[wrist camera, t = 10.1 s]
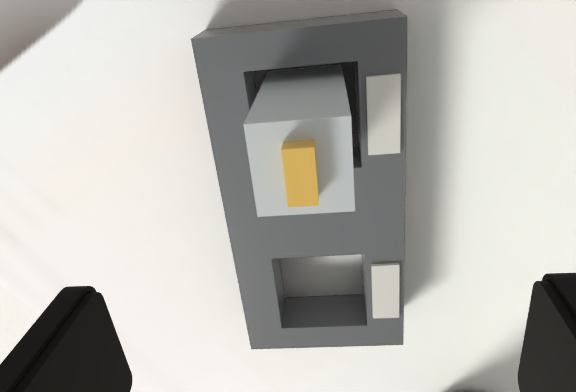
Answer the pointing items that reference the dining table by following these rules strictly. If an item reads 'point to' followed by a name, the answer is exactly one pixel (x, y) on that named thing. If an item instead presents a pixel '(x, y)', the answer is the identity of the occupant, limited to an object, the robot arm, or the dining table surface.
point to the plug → (301, 143)
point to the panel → (322, 226)
